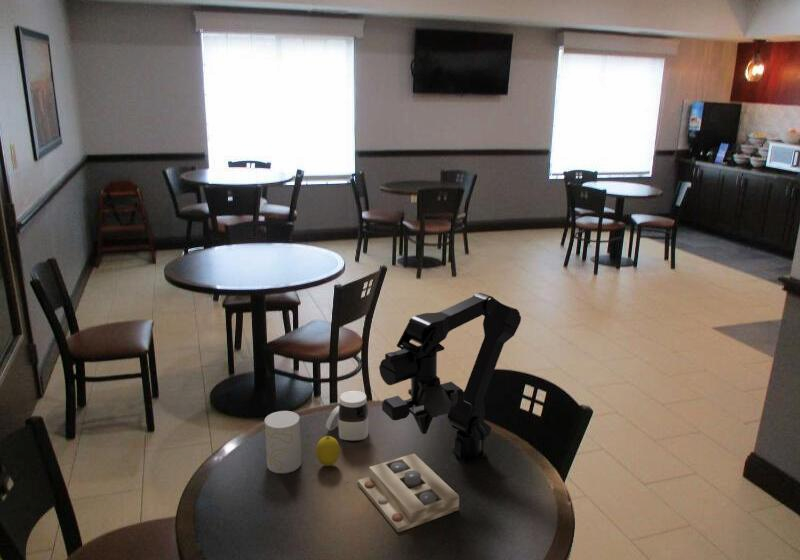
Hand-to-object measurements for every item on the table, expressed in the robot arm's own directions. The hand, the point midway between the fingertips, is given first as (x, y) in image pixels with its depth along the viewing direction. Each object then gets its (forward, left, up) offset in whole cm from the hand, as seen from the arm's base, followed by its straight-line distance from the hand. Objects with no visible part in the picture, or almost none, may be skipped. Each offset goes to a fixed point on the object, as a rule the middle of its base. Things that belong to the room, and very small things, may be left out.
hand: (423, 433), depth 142 cm
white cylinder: (+27, -20, -11) cm, 36 cm away
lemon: (+18, -14, -11) cm, 26 cm away
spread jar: (+8, -25, -11) cm, 29 cm away
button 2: (+6, +12, -10) cm, 16 cm away
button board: (+7, +5, -11) cm, 14 cm away
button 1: (+6, -1, -10) cm, 11 cm away
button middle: (+6, +5, -8) cm, 11 cm away
